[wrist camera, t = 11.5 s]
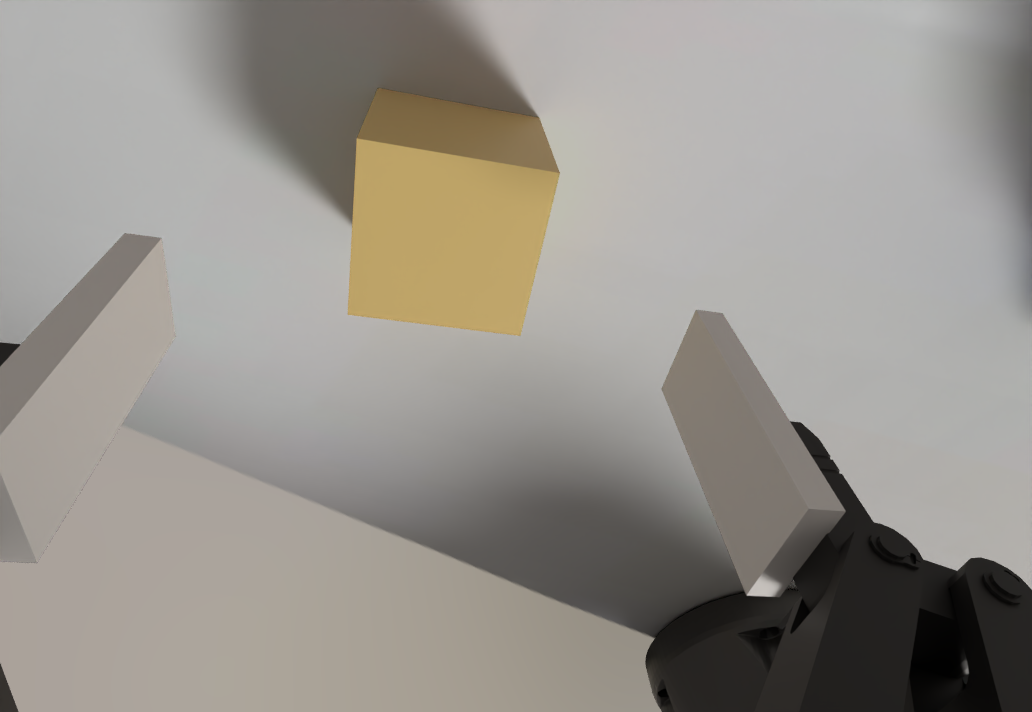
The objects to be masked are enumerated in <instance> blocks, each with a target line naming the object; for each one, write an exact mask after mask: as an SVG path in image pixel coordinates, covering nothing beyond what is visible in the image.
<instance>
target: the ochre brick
mask: <svg viewBox="0 0 1032 712" xmlns="http://www.w3.org/2000/svg"><path fill="white" fill-rule="evenodd" d="M559 174H560V172H559V170H558V167H557V164H556V162H555V159H554V156H553V154H552V151H551V148H550V145H549V143H548V140H547V137H546V135H545V132H544V129H543V127H542V124H541V121H540V119H539V118H538V117H532V116H527V115H521V114H516V113H511V112H505V111H500V110H494V109H489V108H484V107H478V106H473V105H467V104H462V103H457V102H451V101H446V100H440V99H435V98H430V97H424V96H419V95H414V94H408V93H403V92H397V91H392V90H387V89H381V88H378V89H377V91H376V94H375V96H374V98H373V101H372V103H371V106H370V108H369V110H368V113H367V115H366V117H365V120H364V122H363V125H362V127H361V129H360V132H359V134H358V137H357V143H356V163H355V182H354V202H353V222H352V241H351V261H350V280H349V300H348V315H355V316H363V317H371V318H379V319H387V320H395V321H404V322H412V323H420V324H428V325H436V326H444V327H453V328H461V329H469V330H477V331H485V332H493V333H502V334H510V335H518V336H520V335H521V331H522V327H523V323H524V319H525V315H526V310H527V306H528V302H529V298H530V294H531V290H532V286H533V282H534V277H535V273H536V269H537V265H538V261H539V257H540V253H541V249H542V244H543V240H544V236H545V232H546V228H547V224H548V220H549V216H550V211H551V207H552V203H553V199H554V195H555V191H556V187H557V183H558V178H559Z"/></svg>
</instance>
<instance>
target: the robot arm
mask: <svg viewBox="0 0 1032 712" xmlns="http://www.w3.org/2000/svg"><path fill="white" fill-rule="evenodd" d="M175 337H176V335H175V328H174V321H173V314H172V307H171V300H170V293H169V286H168V279H167V272H166V265H165V258H164V251H163V244H162V238H157V237H150V236H142V235H135V234H127V233H125V234H124V235H123V236H122V237H121V238H120V239H119V240H118V241H117V242H116V243H115V244H114V245H113V246H112V247H111V249H110V250H109V251H108V252H107V253H106V254H105V255H104V256H103V257H102V258H101V259H100V260H99V261H98V262H97V264H96V265H95V266H94V267H93V268H92V269H91V270H90V271H89V272H88V273H87V274H86V275H85V276H84V277H83V279H82V280H81V281H80V282H79V283H78V284H77V285H76V286H75V287H74V288H73V289H72V290H71V291H70V292H69V293H68V295H67V296H66V297H65V298H64V299H63V300H62V301H61V302H60V303H59V304H58V305H57V306H56V307H55V308H54V310H53V311H52V312H51V313H50V314H49V315H48V316H47V317H46V318H45V319H44V320H43V321H42V322H41V323H40V325H39V326H38V327H37V328H36V329H35V330H34V331H33V332H32V333H31V334H30V335H29V336H28V337H27V338H26V340H25V341H24V342H23V343H22V344H21V345H20V344H11V343H1V342H0V562H21V563H38V561H39V560H40V558H41V556H42V555H43V553H44V551H45V550H46V548H47V546H48V545H49V543H50V542H51V540H52V538H53V537H54V535H55V533H56V532H57V530H58V528H59V527H60V525H61V523H62V522H63V520H64V519H65V517H66V515H67V514H68V512H69V510H70V509H71V507H72V505H73V504H74V502H75V501H76V499H77V497H78V496H79V494H80V492H81V491H82V489H83V487H84V486H85V484H86V483H87V481H88V479H89V478H90V476H91V474H92V473H93V471H94V469H95V468H96V466H97V465H98V463H99V461H100V460H101V458H102V456H103V455H104V453H105V451H106V450H107V448H108V446H109V445H110V443H111V441H112V440H113V438H114V437H115V435H116V433H117V432H118V430H119V428H120V427H121V425H122V424H123V422H124V420H125V419H126V417H127V415H128V414H129V412H130V410H131V409H132V407H133V406H134V404H135V402H136V401H137V399H138V397H139V396H140V394H141V392H142V391H143V389H144V388H145V386H146V384H147V383H148V381H149V379H150V378H151V376H152V374H153V373H154V371H155V370H156V368H157V366H158V365H159V363H160V361H161V360H162V358H163V356H164V355H165V353H166V351H167V350H168V348H169V347H170V345H171V343H172V342H173V340H174V338H175ZM662 391H663V394H664V396H665V399H666V401H667V403H668V406H669V408H670V411H671V413H672V416H673V418H674V421H675V423H676V425H677V428H678V430H679V433H680V435H681V438H682V440H683V442H684V445H685V447H686V450H687V452H688V455H689V457H690V460H691V462H692V464H693V467H694V469H695V472H696V474H697V477H698V479H699V481H700V484H701V486H702V489H703V491H704V494H705V496H706V499H707V501H708V503H709V506H710V508H711V511H712V513H713V516H714V518H715V520H716V523H717V525H718V528H719V530H720V533H721V535H722V538H723V540H724V542H725V545H726V547H727V550H728V552H729V555H730V557H731V559H732V562H733V564H734V567H735V569H736V572H737V574H738V577H739V579H740V581H741V584H742V586H743V589H744V591H745V593H742V594H737V595H733V596H729V597H726V598H722V599H719V600H716V601H713V602H710V603H708V604H705V605H703V606H701V607H698V608H696V609H694V610H692V611H690V612H688V613H686V614H685V615H683V616H681V617H680V618H678V619H677V620H675V621H674V622H672V623H671V624H670V625H668V626H667V627H666V628H665V629H664V630H663V631H662V632H661V633H660V634H659V635H658V636H657V637H656V638H655V639H654V641H653V642H652V644H651V645H650V647H649V649H648V652H647V655H646V669H647V673H648V677H649V681H650V685H651V688H652V693H653V695H654V698H655V700H656V702H657V704H658V706H659V707H660V709H661V711H662V712H1032V590H1031V589H1030V588H1029V586H1028V585H1027V584H1026V583H1025V582H1024V581H1023V580H1022V579H1021V578H1020V577H1019V576H1017V575H1016V574H1014V573H1013V572H1012V571H1011V570H1009V569H1008V568H1006V567H1004V566H1002V565H1000V564H998V563H996V562H994V561H991V560H988V559H984V558H971V559H970V560H968V561H967V562H966V563H965V564H964V565H963V566H962V567H961V568H960V569H959V570H958V571H956V570H953V569H950V568H947V567H944V566H941V565H938V564H935V563H932V562H929V561H926V560H923V558H922V557H921V555H920V553H919V552H918V550H917V549H916V548H915V547H914V546H913V545H912V543H911V542H910V541H909V540H908V539H907V538H905V537H904V536H902V535H901V534H899V533H898V532H897V531H895V530H894V529H891V528H889V527H887V526H884V525H882V524H878V523H874V522H873V521H872V519H871V518H870V516H869V515H868V513H867V512H866V510H865V508H864V507H863V505H862V504H861V502H860V501H859V499H858V498H857V496H856V495H855V493H854V492H853V490H852V489H851V487H850V486H849V484H848V483H847V481H846V480H845V478H844V476H843V475H842V474H839V471H840V470H839V469H838V467H837V466H836V464H835V463H834V461H833V460H830V455H829V454H828V452H827V451H826V449H825V447H824V446H823V444H822V443H821V441H820V440H819V439H818V438H817V437H816V436H815V435H814V434H813V433H812V432H811V431H810V430H809V429H807V428H806V427H805V426H804V425H803V424H802V423H800V422H790V421H789V419H788V418H787V416H786V414H785V413H784V411H783V410H782V408H781V406H780V405H779V403H778V402H777V400H776V398H775V397H774V395H773V394H772V392H771V390H770V389H769V387H768V386H767V384H766V382H765V381H764V379H763V378H762V376H761V374H760V373H759V371H758V370H757V368H756V366H755V365H754V363H753V362H752V360H751V358H750V357H749V355H748V353H747V352H746V350H745V349H744V347H743V345H742V344H741V342H740V341H739V339H738V337H737V336H736V334H735V333H734V331H733V329H732V328H731V326H730V325H729V323H728V321H727V320H726V318H725V317H724V315H723V313H716V312H709V311H701V310H696V311H695V313H694V315H693V318H692V320H691V322H690V325H689V327H688V329H687V332H686V334H685V336H684V338H683V341H682V343H681V345H680V348H679V350H678V352H677V355H676V357H675V359H674V361H673V364H672V366H671V368H670V371H669V373H668V375H667V377H666V380H665V382H664V384H663V387H662ZM793 579H794V582H795V584H796V586H797V588H798V590H799V591H795V590H786V588H787V587H788V586H789V584H790V583H791V582H792V581H793ZM0 712H18V709H17V707H16V704H15V701H14V699H13V696H12V693H11V691H10V688H9V685H8V683H7V680H6V678H5V675H4V672H3V669H2V667H1V664H0Z"/></svg>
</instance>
